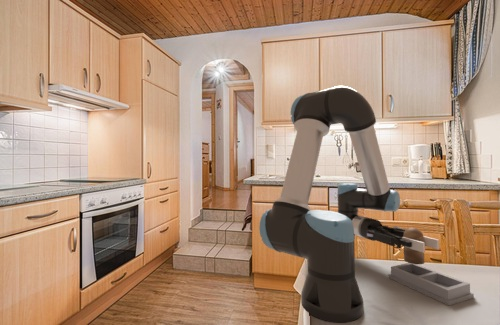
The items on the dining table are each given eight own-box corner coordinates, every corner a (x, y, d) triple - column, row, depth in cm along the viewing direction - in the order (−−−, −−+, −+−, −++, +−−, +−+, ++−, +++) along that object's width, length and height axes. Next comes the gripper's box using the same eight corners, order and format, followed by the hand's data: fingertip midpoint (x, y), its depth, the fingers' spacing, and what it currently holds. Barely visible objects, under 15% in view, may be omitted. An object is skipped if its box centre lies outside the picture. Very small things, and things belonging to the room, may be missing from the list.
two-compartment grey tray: (388, 277, 81) (388, 266, 81) (410, 272, 85) (410, 261, 85) (449, 305, 65) (448, 291, 65) (473, 297, 68) (473, 284, 69)
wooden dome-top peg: (408, 264, 77) (407, 230, 77) (401, 257, 82) (400, 225, 82) (428, 264, 76) (426, 230, 76) (419, 258, 81) (418, 225, 81)
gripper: (385, 235, 99) (452, 254, 77) (347, 241, 92) (408, 264, 71) (385, 215, 99) (451, 229, 77) (346, 220, 92) (407, 237, 71)
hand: (430, 246), depth 74 cm, fingers closed on wooden dome-top peg, 5 cm apart
